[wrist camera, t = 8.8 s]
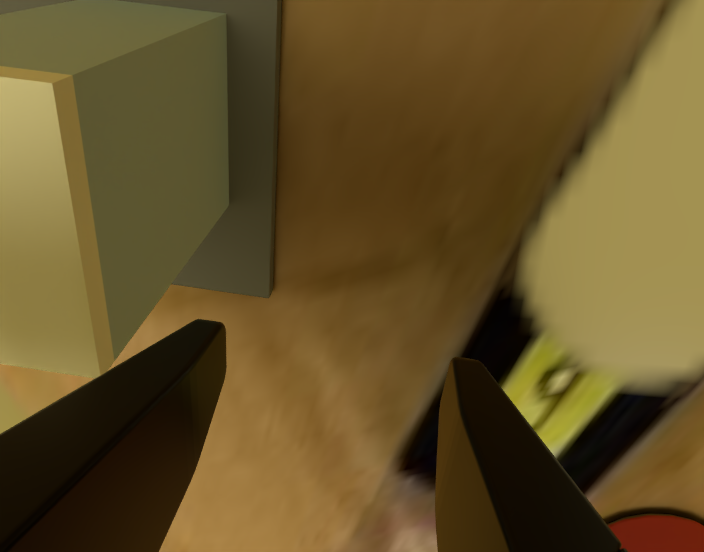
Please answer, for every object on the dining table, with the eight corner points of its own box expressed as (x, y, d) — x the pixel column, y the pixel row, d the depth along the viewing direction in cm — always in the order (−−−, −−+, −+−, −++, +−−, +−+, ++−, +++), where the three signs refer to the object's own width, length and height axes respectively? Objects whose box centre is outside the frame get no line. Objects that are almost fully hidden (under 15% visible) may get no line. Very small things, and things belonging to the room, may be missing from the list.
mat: (285, -125, 15) (280, -127, 15) (272, 289, 22) (268, 298, 22) (-284, -188, 16) (-307, -192, 16) (-129, 231, 23) (-142, 238, 22)
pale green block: (226, 13, 17) (52, 83, 9) (229, 205, 20) (100, 379, 12) (90, -4, 17) (-194, 51, 9) (114, 189, 20) (-83, 351, 12)
